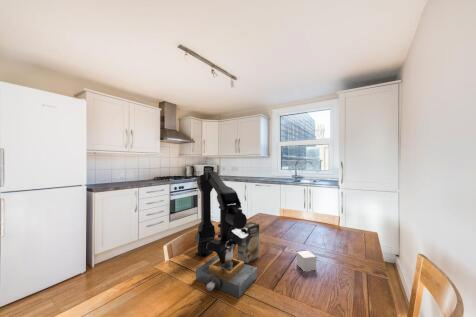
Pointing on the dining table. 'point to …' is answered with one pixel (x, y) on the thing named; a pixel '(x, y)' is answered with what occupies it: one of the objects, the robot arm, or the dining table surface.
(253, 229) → the coffee box
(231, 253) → the silver calibration weight
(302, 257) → the adhesive note
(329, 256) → the dining table surface
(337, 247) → the dining table surface
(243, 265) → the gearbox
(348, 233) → the dining table surface
